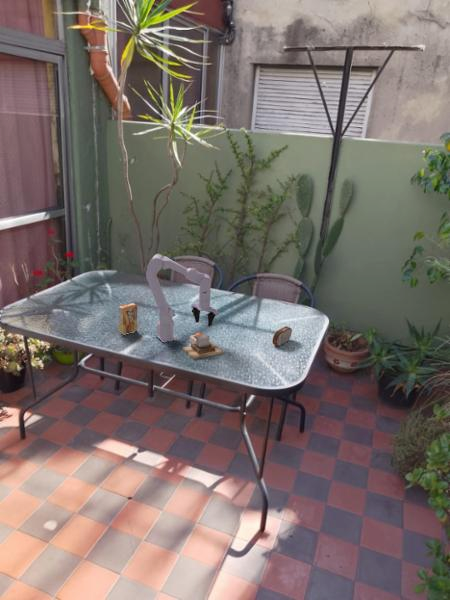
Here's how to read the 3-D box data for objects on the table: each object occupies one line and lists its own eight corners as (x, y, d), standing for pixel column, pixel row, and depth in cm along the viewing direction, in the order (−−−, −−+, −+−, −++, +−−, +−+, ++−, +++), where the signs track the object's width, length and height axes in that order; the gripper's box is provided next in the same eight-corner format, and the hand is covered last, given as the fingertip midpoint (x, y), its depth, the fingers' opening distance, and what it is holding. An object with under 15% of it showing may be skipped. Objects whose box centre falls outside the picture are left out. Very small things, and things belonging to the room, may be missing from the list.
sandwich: (286, 338, 241) (288, 323, 238) (292, 340, 239) (293, 325, 236) (271, 346, 230) (272, 331, 227) (276, 348, 228) (278, 333, 225)
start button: (194, 339, 230) (194, 333, 229) (200, 338, 232) (200, 332, 230) (197, 342, 227) (197, 335, 226) (203, 341, 229) (203, 334, 228)
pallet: (182, 349, 221) (182, 343, 220) (211, 343, 229) (211, 338, 228) (194, 359, 211) (194, 353, 210) (223, 353, 219) (223, 347, 218)
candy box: (132, 329, 241) (132, 302, 236) (137, 332, 238) (137, 304, 233) (119, 333, 235) (118, 306, 229) (123, 336, 232) (123, 308, 227)
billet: (195, 348, 220) (196, 335, 218) (204, 346, 222) (205, 334, 220) (199, 352, 217) (200, 338, 214) (208, 350, 219) (209, 337, 217)
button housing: (189, 341, 231) (189, 335, 230) (201, 338, 234) (201, 333, 233) (195, 346, 225) (196, 341, 224) (208, 344, 229) (208, 338, 228)
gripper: (188, 297, 224) (187, 322, 229) (212, 304, 218) (211, 329, 222) (196, 294, 230) (195, 318, 235) (220, 300, 223) (218, 325, 228)
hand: (203, 324), depth 229 cm, fingers open, 7 cm apart
